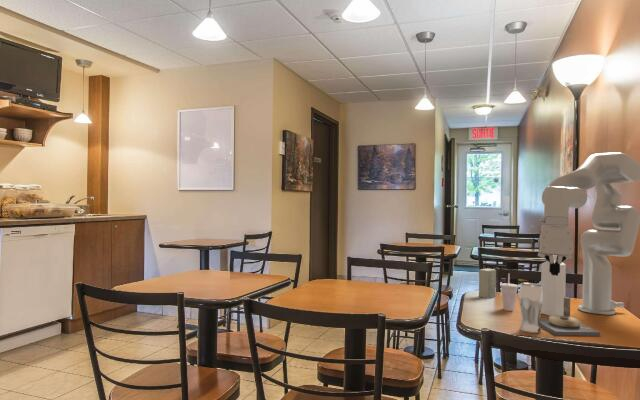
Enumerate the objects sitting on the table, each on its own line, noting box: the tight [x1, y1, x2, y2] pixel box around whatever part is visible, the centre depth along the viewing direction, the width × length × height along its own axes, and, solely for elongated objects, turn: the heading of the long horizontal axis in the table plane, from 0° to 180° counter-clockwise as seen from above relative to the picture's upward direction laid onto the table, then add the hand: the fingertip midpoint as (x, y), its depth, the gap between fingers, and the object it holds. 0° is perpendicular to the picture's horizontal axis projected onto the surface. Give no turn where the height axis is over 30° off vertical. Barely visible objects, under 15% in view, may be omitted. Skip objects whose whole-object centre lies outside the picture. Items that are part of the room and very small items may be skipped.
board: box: [540, 317, 601, 337], centre depth 149 cm, size 14×16×2 cm
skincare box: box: [478, 267, 497, 299], centre depth 197 cm, size 6×4×12 cm
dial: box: [548, 296, 581, 327], centre depth 150 cm, size 9×11×7 cm
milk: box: [540, 255, 567, 316], centre depth 168 cm, size 6×6×22 cm
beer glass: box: [518, 282, 543, 334], centre depth 146 cm, size 7×7×15 cm
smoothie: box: [500, 272, 519, 312], centre depth 174 cm, size 6×6×14 cm
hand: (554, 274), depth 156 cm, fingers closed
